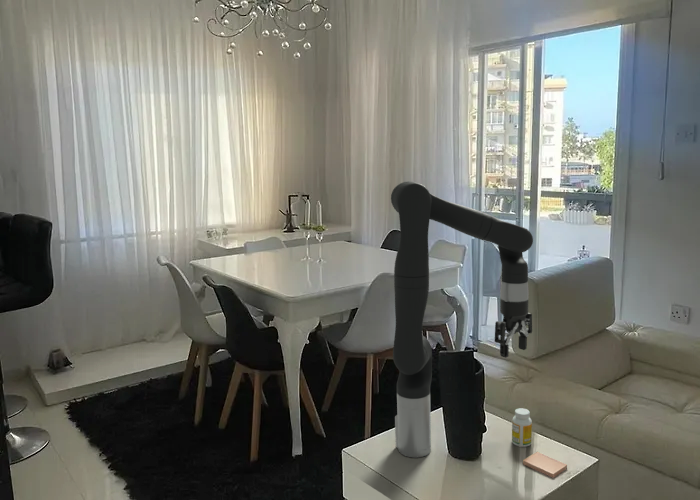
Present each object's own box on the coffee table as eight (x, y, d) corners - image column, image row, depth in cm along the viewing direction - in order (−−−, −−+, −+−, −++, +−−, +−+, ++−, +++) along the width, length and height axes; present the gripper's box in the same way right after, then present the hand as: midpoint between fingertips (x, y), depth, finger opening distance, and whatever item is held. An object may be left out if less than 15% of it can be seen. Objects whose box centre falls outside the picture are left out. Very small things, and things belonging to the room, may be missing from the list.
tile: (522, 460, 154) (553, 474, 147) (536, 451, 158) (567, 464, 151) (522, 465, 154) (553, 479, 147) (536, 456, 158) (567, 469, 151)
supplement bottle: (511, 446, 163) (511, 414, 161) (512, 437, 168) (512, 406, 166) (531, 448, 161) (531, 416, 160) (531, 439, 166) (532, 408, 165)
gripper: (518, 290, 167) (517, 343, 170) (487, 299, 158) (486, 355, 161) (540, 294, 161) (539, 350, 164) (510, 304, 153) (509, 362, 155)
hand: (513, 352), depth 163 cm, fingers open, 8 cm apart
